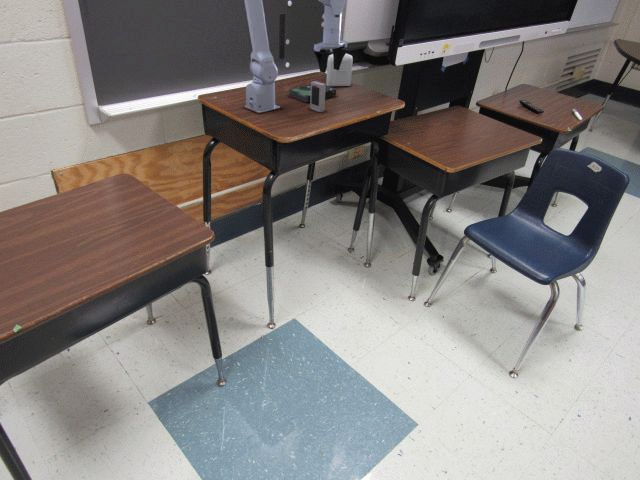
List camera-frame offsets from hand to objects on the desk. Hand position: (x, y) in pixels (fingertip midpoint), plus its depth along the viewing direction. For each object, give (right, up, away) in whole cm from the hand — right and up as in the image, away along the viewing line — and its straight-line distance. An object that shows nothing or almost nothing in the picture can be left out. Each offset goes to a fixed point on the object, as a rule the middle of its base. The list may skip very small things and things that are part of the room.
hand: (329, 70), depth 159 cm
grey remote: (-4, -15, -4) cm, 16 cm away
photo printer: (+4, +3, +24) cm, 24 cm away
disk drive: (-6, -6, +9) cm, 13 cm away
